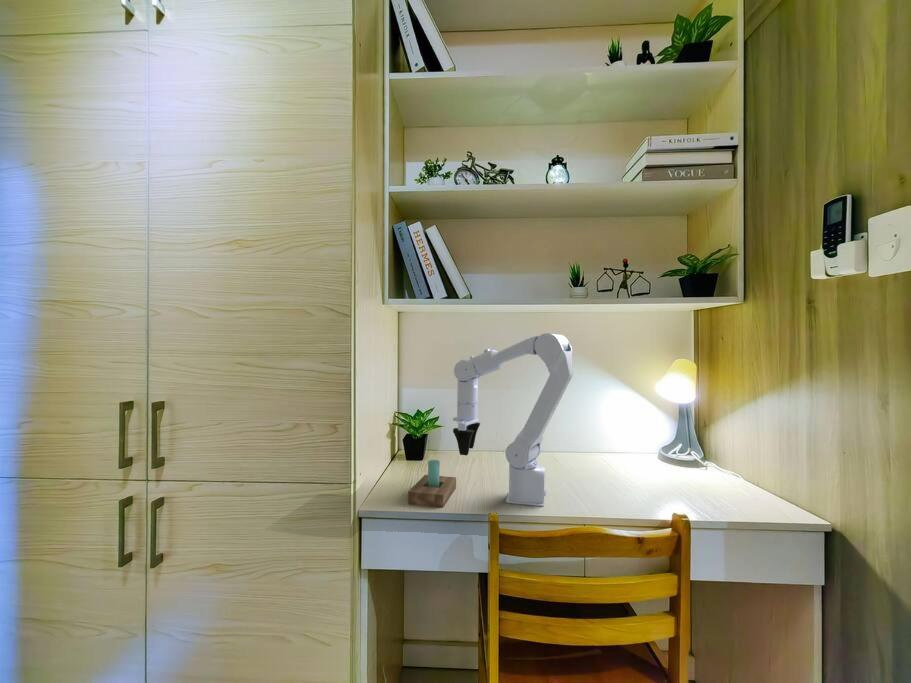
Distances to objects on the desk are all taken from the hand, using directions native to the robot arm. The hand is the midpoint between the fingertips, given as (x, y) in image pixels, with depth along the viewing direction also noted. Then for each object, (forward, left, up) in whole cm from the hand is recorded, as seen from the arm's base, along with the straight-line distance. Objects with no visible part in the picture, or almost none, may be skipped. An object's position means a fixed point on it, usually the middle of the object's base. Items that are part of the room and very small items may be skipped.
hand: (466, 451), depth 118 cm
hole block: (+7, +9, -10) cm, 15 cm away
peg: (+7, +9, -10) cm, 15 cm away
